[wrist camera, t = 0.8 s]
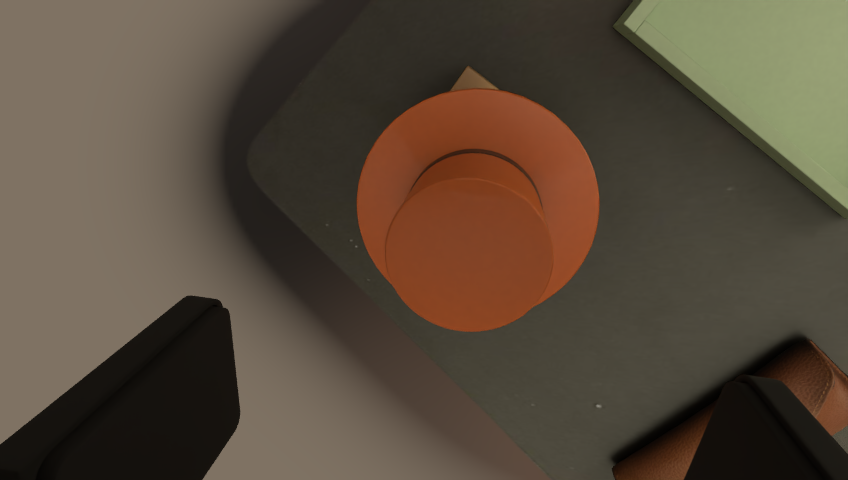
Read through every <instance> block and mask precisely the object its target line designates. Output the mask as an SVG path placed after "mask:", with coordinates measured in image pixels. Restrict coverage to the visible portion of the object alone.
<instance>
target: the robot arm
mask: <svg viewBox="0 0 848 480" xmlns="http://www.w3.org/2000/svg"><path fill="white" fill-rule="evenodd" d="M239 419H240V406H239V396H238V387H237V378H236V368H235V360H234V350H233V341H232V331H231V321H230V314H229V311H228V309H226V308H223V306H222V303H221V302H220V301H219V300H217V299H212V298H205V297H198V296H186V297H185V298H183V299H182V300H181V301H179V302H178V303H177V304H175V305H174V306H173V307H172V308H170V309H169V310H168V311H167V312H165V313H164V314H163V315H162V316H160V317H159V318H158V319H157V320H155V321H154V322H153V323H152V324H150V325H149V326H148V327H147V328H145V329H144V330H143V331H142V332H140V333H139V334H138V335H137V336H136V337H134V338H133V339H132V340H130V341H129V342H128V343H127V344H125V345H124V346H123V347H122V348H120V349H119V350H118V351H117V352H115V353H114V354H113V355H112V356H110V357H109V358H108V359H107V360H106V361H104V362H103V363H102V364H101V365H99V366H98V367H97V368H96V369H94V370H93V371H92V372H90V373H89V374H88V375H87V376H85V377H84V378H83V379H82V380H81V381H79V382H78V383H77V384H75V385H74V386H73V387H72V388H70V389H69V390H68V391H67V392H65V393H64V394H63V395H62V396H60V397H59V398H58V399H57V400H55V401H54V402H53V403H52V404H50V405H49V406H48V407H47V408H46V409H44V410H43V411H42V412H41V413H39V414H38V415H37V416H35V417H34V418H33V419H32V420H31V421H29V422H28V423H27V424H26V425H24V426H23V427H22V428H20V429H19V430H18V431H17V432H15V433H14V434H13V435H12V436H10V437H9V438H8V439H7V440H5V441H4V442H3V443H2V444H0V480H202V479H203V478H204V476H205V475H206V473H207V472H208V470H209V469H210V467H211V466H212V464H213V463H214V461H215V460H216V459H217V457H218V456H219V454H220V453H221V451H222V449H223V448H224V447H225V445H226V444H227V442H228V441H229V439H230V438H231V436H232V435H233V433H234V432H235V430H236V428H237V425H238V423H239ZM684 480H848V454H847V453H846V452H845V451H844V449H843V448H842V447H841V446H840V445H839V444H838V443H837V442H836V441H835V439H834V438H833V437H832V436H831V435H830V434H829V433H828V432H827V430H826V429H825V428H824V427H823V426H822V425H821V424H820V423H819V421H818V420H817V419H816V418H815V417H814V416H813V415H812V414H811V413H810V411H809V410H808V409H807V408H806V407H805V406H804V405H803V404H802V402H801V401H800V400H799V399H798V398H797V397H796V396H795V395H794V393H793V392H792V391H791V390H790V389H789V388H788V387H787V386H786V385H785V384H784V383H783V382H782V381H780V380H777V379H771V378H764V377H757V376H750V375H739V376H738V377H737V378H735V380H734V381H730V382H727V383H726V384H725V385H724V387H723V389H722V391H721V394H720V396H719V398H718V401H717V403H716V405H715V408H714V410H713V413H712V415H711V417H710V420H709V422H708V424H707V427H706V429H705V431H704V434H703V436H702V438H701V441H700V443H699V445H698V448H697V450H696V452H695V455H694V457H693V459H692V462H691V464H690V466H689V469H688V471H687V473H686V476H685V478H684Z"/></svg>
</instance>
